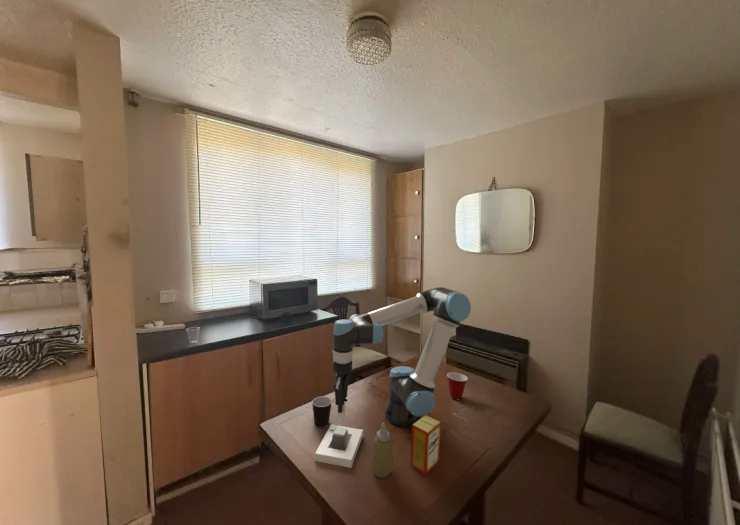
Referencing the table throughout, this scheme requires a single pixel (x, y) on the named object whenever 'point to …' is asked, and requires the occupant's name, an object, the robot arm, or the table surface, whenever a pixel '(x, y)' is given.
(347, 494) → the table surface
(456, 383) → the plastic cup
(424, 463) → the baking soda box
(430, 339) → the robot arm
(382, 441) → the squeeze bottle
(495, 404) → the table surface
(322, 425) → the coffee mug
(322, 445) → the socket plate
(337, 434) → the plug
